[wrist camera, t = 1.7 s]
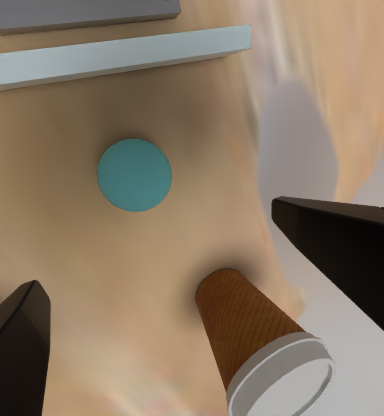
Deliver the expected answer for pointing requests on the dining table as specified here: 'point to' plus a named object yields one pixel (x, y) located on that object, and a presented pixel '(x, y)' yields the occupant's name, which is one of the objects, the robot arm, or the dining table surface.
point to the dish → (79, 13)
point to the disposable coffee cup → (261, 350)
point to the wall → (119, 56)
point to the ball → (134, 175)
